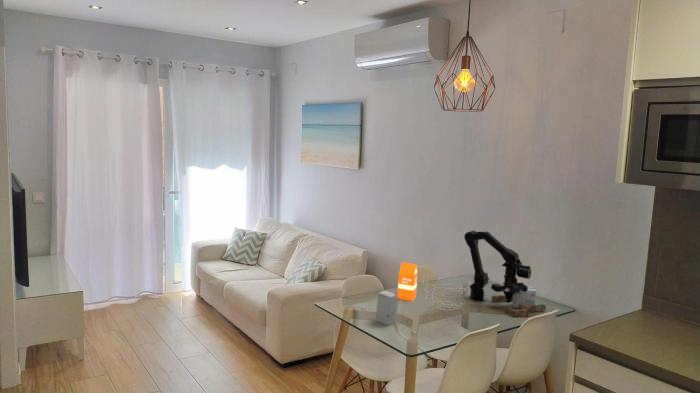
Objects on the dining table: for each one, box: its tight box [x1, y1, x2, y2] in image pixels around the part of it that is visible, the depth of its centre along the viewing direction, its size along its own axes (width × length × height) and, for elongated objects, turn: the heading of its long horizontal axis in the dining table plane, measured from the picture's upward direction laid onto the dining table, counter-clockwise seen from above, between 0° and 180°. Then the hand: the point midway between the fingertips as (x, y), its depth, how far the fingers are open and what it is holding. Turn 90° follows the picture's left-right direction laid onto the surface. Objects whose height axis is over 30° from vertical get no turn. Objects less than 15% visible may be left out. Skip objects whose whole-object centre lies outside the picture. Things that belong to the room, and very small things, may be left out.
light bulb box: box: [512, 286, 537, 309], centre depth 279 cm, size 11×7×11 cm, turn 86°
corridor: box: [491, 294, 547, 318], centre depth 276 cm, size 23×23×4 cm
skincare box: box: [375, 289, 398, 326], centre depth 248 cm, size 8×6×15 cm
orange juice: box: [397, 262, 418, 302], centre depth 284 cm, size 8×9×20 cm
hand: (508, 302), depth 277 cm, fingers closed, pressing on light bulb box
